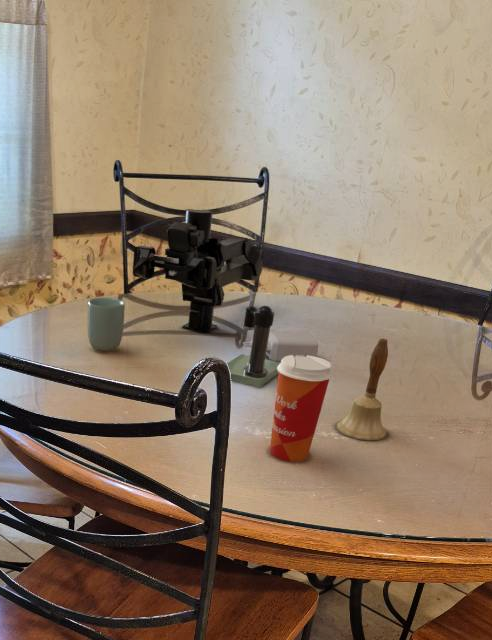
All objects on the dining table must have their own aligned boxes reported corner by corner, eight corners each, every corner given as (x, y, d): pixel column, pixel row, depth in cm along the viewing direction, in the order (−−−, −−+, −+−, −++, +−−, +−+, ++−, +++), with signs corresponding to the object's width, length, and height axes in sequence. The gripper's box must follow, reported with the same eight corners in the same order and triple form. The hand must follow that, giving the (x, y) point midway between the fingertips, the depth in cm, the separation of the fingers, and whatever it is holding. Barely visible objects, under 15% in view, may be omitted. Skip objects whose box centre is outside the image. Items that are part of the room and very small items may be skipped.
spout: (272, 340, 137) (278, 308, 134) (255, 341, 136) (260, 308, 133) (255, 326, 145) (259, 296, 141) (238, 326, 144) (242, 295, 141)
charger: (238, 349, 160) (303, 351, 161) (246, 362, 152) (315, 364, 153) (241, 327, 158) (307, 330, 159) (249, 340, 150) (319, 342, 151)
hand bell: (389, 443, 119) (415, 349, 111) (338, 437, 120) (360, 344, 112) (382, 424, 126) (406, 334, 118) (334, 419, 127) (354, 329, 119)
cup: (118, 356, 152) (120, 308, 146) (83, 352, 153) (84, 304, 147) (125, 345, 158) (128, 299, 153) (91, 341, 159) (92, 295, 154)
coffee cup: (257, 442, 117) (272, 352, 109) (305, 443, 118) (324, 353, 110) (270, 465, 110) (287, 371, 102) (322, 465, 111) (343, 372, 103)
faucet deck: (240, 360, 153) (248, 308, 147) (283, 370, 149) (292, 317, 143) (215, 376, 143) (221, 321, 138) (259, 387, 139) (268, 331, 134)
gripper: (154, 217, 157) (117, 225, 145) (232, 228, 149) (200, 237, 137) (150, 270, 163) (115, 281, 151) (225, 283, 155) (193, 296, 143)
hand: (154, 273), depth 146 cm, fingers open, 9 cm apart
